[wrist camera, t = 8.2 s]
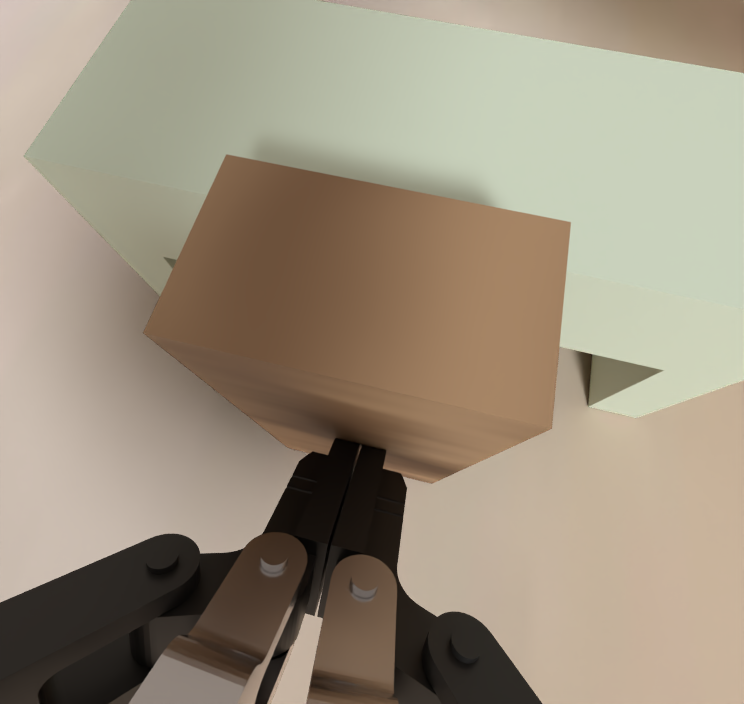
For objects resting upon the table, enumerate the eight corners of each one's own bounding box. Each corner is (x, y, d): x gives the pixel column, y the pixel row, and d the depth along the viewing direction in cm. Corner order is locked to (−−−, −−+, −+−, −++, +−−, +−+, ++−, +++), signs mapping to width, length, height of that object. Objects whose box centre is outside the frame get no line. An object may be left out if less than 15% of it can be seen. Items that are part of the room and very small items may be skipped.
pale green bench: (641, 259, 21) (827, 87, 12) (636, 418, 18) (869, 335, 10) (232, 174, 22) (150, -28, 14) (171, 308, 20) (23, 156, 11)
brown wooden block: (505, 189, 22) (645, -140, 11) (456, 489, 17) (626, 446, 6) (356, 160, 23) (343, -180, 12) (264, 441, 18) (80, 318, 6)
